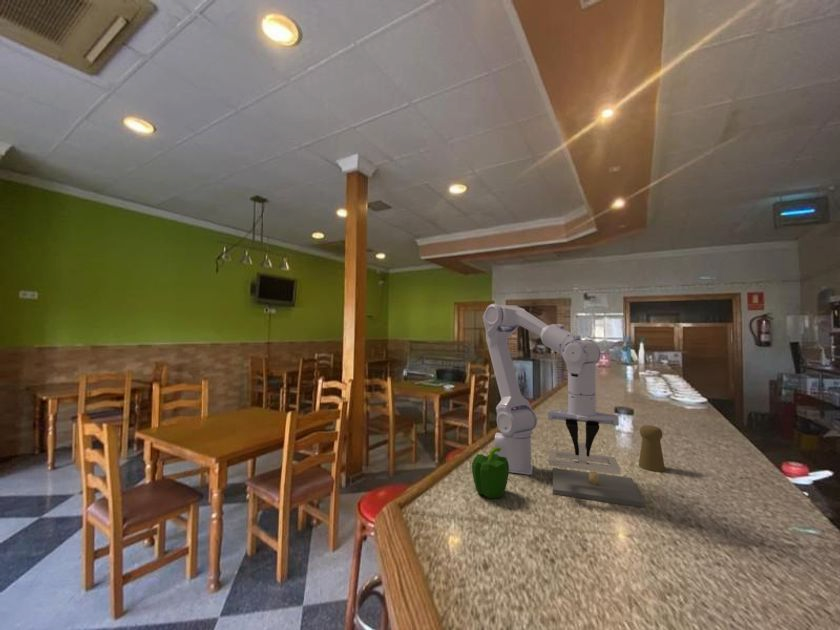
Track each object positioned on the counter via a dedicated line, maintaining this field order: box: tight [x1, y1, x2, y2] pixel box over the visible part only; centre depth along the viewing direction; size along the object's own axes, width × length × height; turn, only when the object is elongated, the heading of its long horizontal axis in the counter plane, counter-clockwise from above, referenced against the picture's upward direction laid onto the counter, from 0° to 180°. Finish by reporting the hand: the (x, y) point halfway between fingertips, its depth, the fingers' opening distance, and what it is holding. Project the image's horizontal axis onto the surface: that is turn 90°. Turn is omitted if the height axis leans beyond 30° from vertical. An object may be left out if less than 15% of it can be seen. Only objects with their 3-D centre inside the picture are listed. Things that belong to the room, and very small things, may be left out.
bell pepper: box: [471, 447, 510, 499], centre depth 82 cm, size 8×8×10 cm
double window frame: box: [548, 441, 621, 475], centre depth 83 cm, size 14×8×4 cm, turn 70°
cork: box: [638, 425, 666, 473], centre depth 100 cm, size 6×6×11 cm
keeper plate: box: [552, 467, 646, 509], centre depth 86 cm, size 18×14×3 cm
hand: (582, 454), depth 83 cm, fingers closed on double window frame
